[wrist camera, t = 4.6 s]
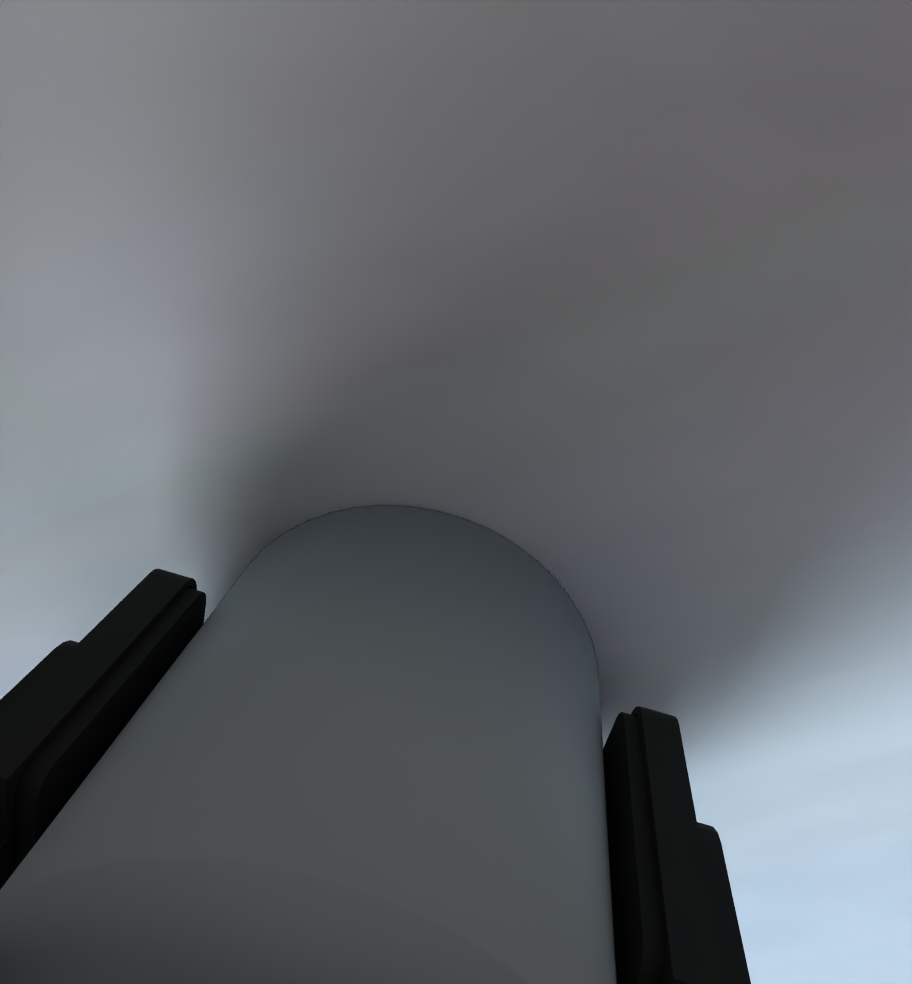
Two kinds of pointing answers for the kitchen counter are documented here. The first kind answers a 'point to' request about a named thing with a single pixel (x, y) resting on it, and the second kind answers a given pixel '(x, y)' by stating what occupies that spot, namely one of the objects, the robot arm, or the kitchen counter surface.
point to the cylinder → (344, 783)
